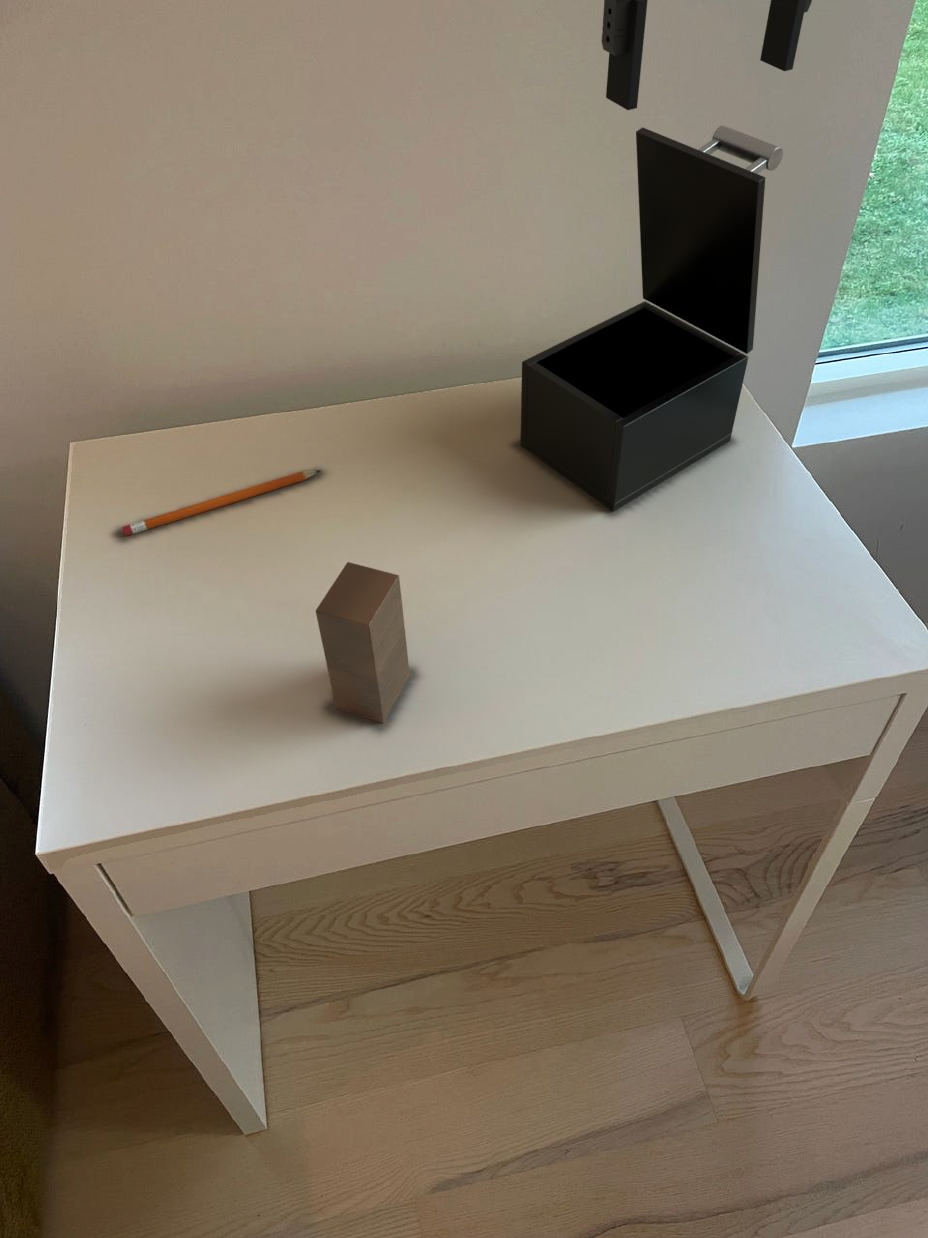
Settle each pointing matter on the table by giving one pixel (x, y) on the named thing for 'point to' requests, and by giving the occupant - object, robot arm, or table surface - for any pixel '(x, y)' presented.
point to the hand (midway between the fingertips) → (700, 83)
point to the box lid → (703, 229)
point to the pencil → (217, 502)
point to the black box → (630, 402)
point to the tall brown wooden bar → (364, 641)
